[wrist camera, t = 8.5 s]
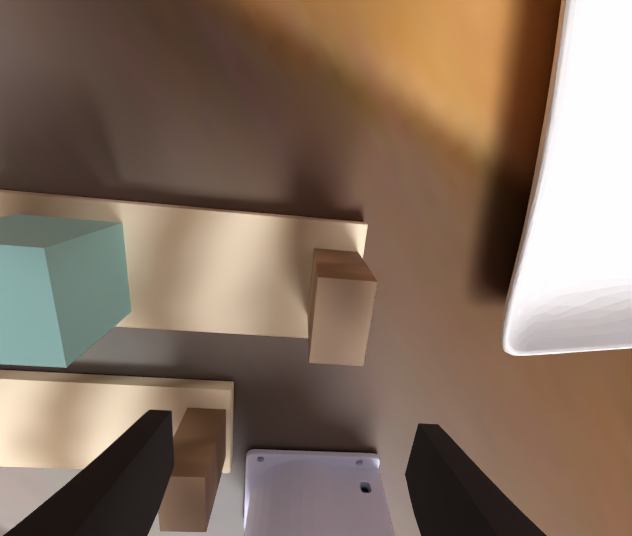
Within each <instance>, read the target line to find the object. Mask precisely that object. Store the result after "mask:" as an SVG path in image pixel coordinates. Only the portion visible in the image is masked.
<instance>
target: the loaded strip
mask: <svg viewBox="0 0 632 536" xmlns="http://www.w3.org/2000/svg"><path fill="white" fill-rule="evenodd" d="M15 214H23V215H35V216H47V217H59V218H71V219H83V220H95V221H106V222H118V223H123V233H124V242H125V252H126V262H127V272H128V282H129V292H130V301H131V311H132V312H131V313H129V314H128V315H127V316H126V317H125V318H124V319H122V320H121V321H120V322H119V323H118V324H117V325H115V326H116V327H132V328H149V329H165V330H181V331H198V332H214V333H230V334H247V335H263V336H279V337H295V338H308V346H309V363H317V364H335V365H353V366H363V364H364V358H365V352H366V346H367V341H368V335H369V329H370V323H371V317H372V311H373V305H374V299H375V293H376V288H377V280H376V279H375V277H374V276H373V274H372V273H371V271H370V269H369V268H368V266H367V265H366V263H365V262H364V260H363V253H364V246H365V240H366V233H367V226H368V225H367V224H366V223H365V222H357V221H346V220H335V219H324V218H313V217H301V216H290V215H279V214H268V213H257V212H245V211H234V210H223V209H212V208H201V207H189V206H178V205H167V204H156V203H145V202H133V201H122V200H111V199H100V198H89V197H77V196H66V195H55V194H44V193H33V192H21V191H10V190H0V217H3V216H9V215H15Z"/></svg>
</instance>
